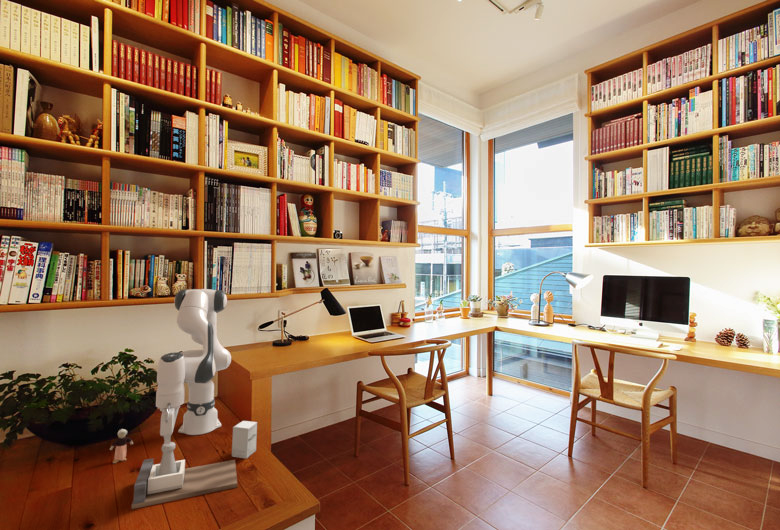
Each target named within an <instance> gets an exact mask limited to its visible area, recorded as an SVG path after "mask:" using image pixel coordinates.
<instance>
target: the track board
mask: <svg viewBox="0 0 780 530" xmlns="http://www.w3.org/2000/svg"><path fill="white" fill-rule="evenodd" d="M153 465H154V458H153V457H152V458H147V459H144V460H143V461H142V465H141V467H140V469H139V473H138V475H137V477H136V480H135V483H134V485H133V498H132V499H133V500H132V501H131V508H130V509H131V510H136V509H139V508H140V509H141V508H144V507H149V506H154V505H159V504H164V503H167V502H175V501H177V500H183V499H188V498H191V497H192V498H193V497H197V496H201V495H206V494H211V492H212V493H215V492H221V491H226V490H229V489H235V488H236V489H237V488H238V476H237V475H238V474H237V467H236V466H237V465H236V459H231V460H225V461H220V462H215V463H209V464H204V465H203V464H202V465H198V466H192V467H187V468H186V467H185V474H184V480H183V487H182V488H178V489H173V490H168V491H163V492H158V493H153V494H148V495H147V492H148V478H149V475H150V472H151V469H152V466H153Z"/></svg>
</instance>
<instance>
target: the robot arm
mask: <svg viewBox="0 0 780 530" xmlns="http://www.w3.org/2000/svg"><path fill="white" fill-rule="evenodd" d="M173 301H174V302H173V303H174V307H175V309H176V310H177V311H178V314H177V317H176V324H177V326H178V328H179V329H180V330H181V331H182V332H183V333H186V334H188V335H190V336H191V340H192V341H193V342H195V343H197V344H199V345H201V346H202V349H194V350H193V349H192V350H191V349H190V350H185V351H181V352H169V353H165V354H163V355H162V356H160V358H159V362H158V366H157V370H156V371H157V373H156V383H157V388H156V392H155V395H156V396H155V407H156V408H158V409H159V411H160V412H161V415H160V416H161V417H160V427H159V428H160V429H159V435H160V436H161V437H163V440H164V441H163V444H165V445H166V444H170V442H172V441H171V437H172V434H173V432H174V428H175V424H176V420H177V416H178V414H179V409H180V408H181V405H183V404H184V403H185V389H186V388H185V385H184V384H187V387H188V402H187V405H186V407H187V408H186V409H187V411H186V412H185V413H184V414H183V421H182V425H180V427H179V429H177V431H178V434H179V433H181V434H186V435H189V436H198V435H204V434H208V433H211V432H212V431H214V430H216V429H218V428H221V427H222V423H221V422H220V419H219V416H218V410H217V408H215V406H216V405H215V404H216V401H215V400H216V399H215V383H214V382H213V380H212V379H214V377H215V374H216V372H218V371H222V370H226V369H227V368H228V367H230V365H231V363H232V355H231V352H230V351H229V350H228V349H226V348H225V347H224V346H222V344H221V343H220V342H219V339H218V332H217V324H218V322H217V321H218V315H217V314H218V313H220V312H222V311H224V310H225V309H226V306H227V304H228V296H227V294H226V292H225V291H224V290H220V289H210V288H201V289H200V288H198V289H197V288H193V289H187V288H185V289H181V290H179V291H177V293H176V294H175V296H174V300H173Z"/></svg>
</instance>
